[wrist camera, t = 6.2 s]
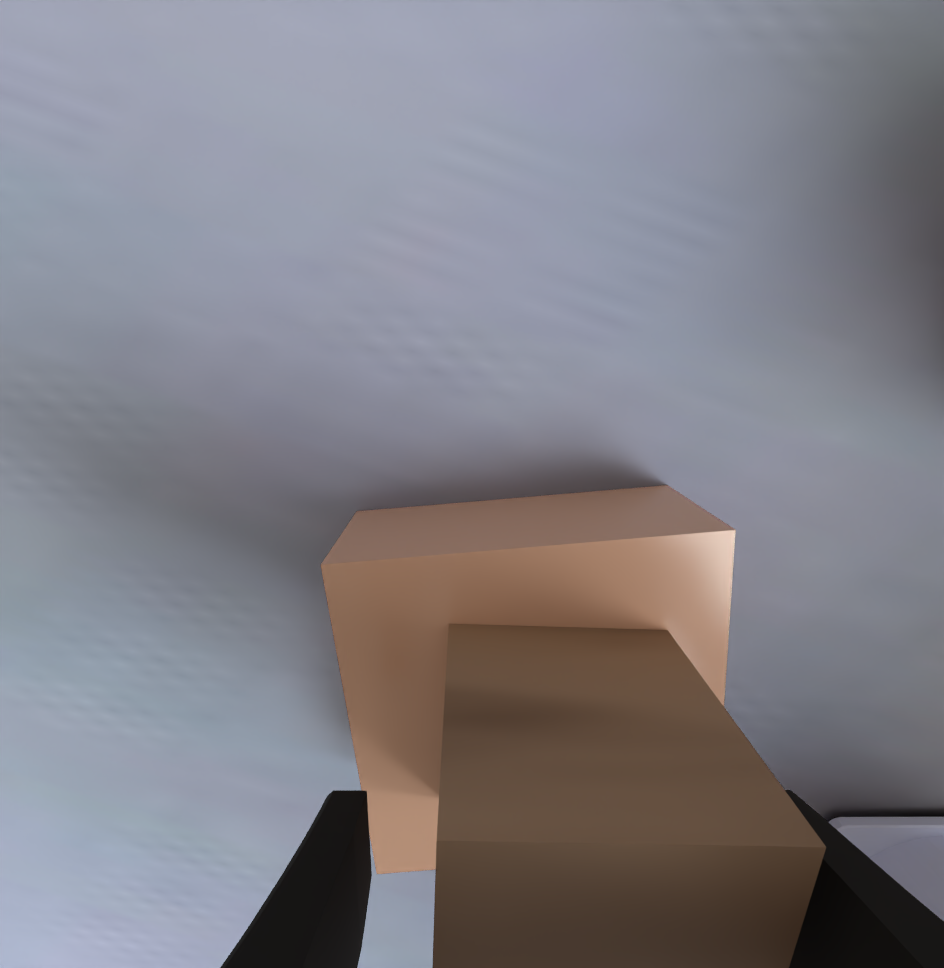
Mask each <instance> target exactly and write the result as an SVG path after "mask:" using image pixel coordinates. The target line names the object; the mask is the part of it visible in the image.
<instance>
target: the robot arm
mask: <svg viewBox="0 0 944 968" xmlns="http://www.w3.org/2000/svg"><path fill="white" fill-rule="evenodd" d="M785 791H786V793H787V794H788V795H789V797H790V798H791V800H792V801H793V802H794V804H795V805H796V806H797V808H798V809H799V810H800V812H801V813H802V815H803V816H804V817H805V819H806V820H807V821H808V823H809V824H810V826H811V827H812V828H813V830H814V831H815V832H816V834H817V835H818V837H819V838H820V839H821V841H822V842H823V843H824V845H825V846H826V850H825V853H824V856H823V859H822V863H821V866H820V869H819V872H818V875H817V879H816V882H815V885H814V888H813V892H812V895H811V898H810V901H809V904H808V908H807V911H806V914H805V917H804V921H803V924H802V927H801V930H800V933H799V937H798V940H797V943H796V946H795V950H794V953H793V956H792V959H791V962H790V966H789V968H944V817H837V818H834V819H832V820H830V821H829V822H827V821H826V820H825V819H824V818H823V817H822V816H820V815H819V814H818V813H817V812H816V811H815V810H813V809H812V808H811V807H810V806H809V805H808V804H806V803H805V802H804V801H803V800H802V799H800V798H799V797H798V796H797V795H796V794H794V793H793V792H792V791H791V790H785ZM371 876H372V874H371V856H370V838H369V821H368V803H367V791H333V792H331V793H330V794H329V795H328V796H327V798H326V800H325V802H324V803H323V805H322V807H321V809H320V811H319V813H318V815H317V816H316V818H315V820H314V822H313V824H312V825H311V827H310V829H309V831H308V832H307V834H306V836H305V838H304V839H303V841H302V843H301V844H300V846H299V848H298V849H297V851H296V853H295V854H294V856H293V858H292V859H291V861H290V863H289V864H288V866H287V868H286V869H285V871H284V873H283V874H282V876H281V877H280V879H279V881H278V882H277V884H276V885H275V887H274V888H273V890H272V891H271V893H270V895H269V896H268V898H267V899H266V901H265V902H264V904H263V905H262V907H261V909H260V910H259V912H258V913H257V915H256V916H255V918H254V919H253V921H252V923H251V924H250V926H249V927H248V929H247V930H246V932H245V933H244V935H243V936H242V938H241V939H240V940H239V942H238V943H237V945H236V946H235V948H234V949H233V951H232V952H231V953H230V955H229V956H228V958H227V959H226V961H225V962H224V963H223V965H222V966H221V968H357V966H358V961H359V957H360V952H361V947H362V940H363V933H364V926H365V919H366V912H367V905H368V898H369V890H370V883H371Z"/></svg>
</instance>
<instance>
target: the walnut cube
mask: <svg viewBox="0 0 944 968" xmlns="http://www.w3.org/2000/svg"><path fill="white" fill-rule="evenodd" d="M825 850H826V846H825V845H824V843H823V842H822V841H821V839H820V838H819V837H818V835H817V834H816V832H815V831H814V830H813V828H812V827H811V826H810V824H809V823H808V821H807V820H806V819H805V817H804V816H803V815H802V813H801V812H800V810H799V809H798V808H797V806H796V805H795V804H794V802H793V801H792V800H791V798H790V797H789V795H788V794H787V793H786V791H785V790H784V789H783V787H782V786H781V784H780V783H779V782H778V780H777V779H776V778H775V776H774V775H773V774H772V772H771V771H770V769H769V768H768V767H767V765H766V764H765V763H764V761H763V760H762V758H761V757H760V756H759V754H758V753H757V752H756V750H755V749H754V748H753V746H752V745H751V743H750V742H749V741H748V739H747V738H746V737H745V735H744V734H743V732H742V731H741V730H740V728H739V727H738V726H737V724H736V723H735V722H734V720H733V719H732V717H731V716H730V715H729V713H728V712H727V711H726V709H725V708H724V706H723V705H722V704H721V702H720V701H719V700H718V698H717V697H716V695H715V694H714V693H713V691H712V690H711V689H710V687H709V686H708V685H707V683H706V682H705V680H704V679H703V678H702V676H701V675H700V674H699V672H698V671H697V669H696V668H695V667H694V665H693V664H692V663H691V661H690V660H689V659H688V657H687V656H686V654H685V653H684V652H683V650H682V649H681V648H680V646H679V645H678V643H677V642H676V641H675V639H674V638H673V637H672V635H671V634H670V633H669V631H668V630H650V629H615V628H581V627H547V626H512V625H478V624H449V628H448V646H447V664H446V681H445V699H444V717H443V735H442V753H441V770H440V788H439V806H438V824H437V843H436V876H435V909H434V942H433V968H789V966H790V962H791V959H792V956H793V953H794V950H795V946H796V943H797V940H798V937H799V933H800V930H801V927H802V924H803V921H804V917H805V914H806V911H807V908H808V904H809V901H810V898H811V895H812V892H813V888H814V885H815V882H816V879H817V875H818V872H819V869H820V866H821V863H822V859H823V856H824V853H825Z"/></svg>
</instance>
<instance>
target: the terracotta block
mask: <svg viewBox="0 0 944 968" xmlns="http://www.w3.org/2000/svg"><path fill="white" fill-rule="evenodd" d="M735 531H736V530H735V529H733V528H732V527H730V526H729V525H727V524H726V523H724V522H723V521H721V520H720V519H718V518H717V517H715V516H714V515H712V514H711V513H709V512H707V511H706V510H704V509H703V508H701V507H700V506H698V505H697V504H695V503H694V502H692V501H691V500H689V499H688V498H686V497H685V496H683V495H682V494H680V493H679V492H677V491H676V490H674V489H673V488H671V487H669V486H668V485H663V486H651V487H639V488H627V489H615V490H603V491H591V492H579V493H567V494H555V495H544V496H532V497H520V498H508V499H496V500H484V501H472V502H460V503H448V504H436V505H424V506H412V507H401V508H389V509H377V510H365V511H356V513H355V514H354V516H353V517H352V519H351V520H350V522H349V523H348V525H347V526H346V528H345V529H344V531H343V532H342V534H341V535H340V537H339V538H338V540H337V541H336V543H335V544H334V546H333V547H332V549H331V550H330V551H329V553H328V554H327V556H326V557H325V559H324V560H323V562H322V563H321V570H322V575H323V581H324V586H325V592H326V597H327V603H328V608H329V614H330V619H331V625H332V630H333V636H334V641H335V647H336V652H337V658H338V663H339V669H340V674H341V680H342V685H343V691H344V696H345V702H346V707H347V713H348V718H349V724H350V729H351V735H352V740H353V746H354V751H355V757H356V762H357V768H358V773H359V779H360V784H361V790H362V791H367V803H368V821H369V834H370V839H371V844H372V850H373V855H374V861H375V866H376V872H377V874H385V873H397V872H410V871H423V870H435V869H436V843H437V824H438V806H439V788H440V770H441V753H442V735H443V717H444V699H445V681H446V664H447V646H448V628H449V624H478V625H512V626H547V627H581V628H615V629H650V630H668V631H669V633H670V634H671V635H672V637H673V638H674V639H675V641H676V642H677V643H678V645H679V646H680V648H681V649H682V650H683V652H684V653H685V654H686V656H687V657H688V659H689V660H690V661H691V663H692V664H693V665H694V667H695V668H696V669H697V671H698V672H699V674H700V675H701V676H702V678H703V679H704V680H705V682H706V683H707V685H708V686H709V687H710V689H711V690H712V691H713V693H714V694H715V695H716V697H717V698H718V700H719V701H720V702H721V704H722V705H723V706H724V698H725V683H726V667H727V652H728V637H729V622H730V607H731V591H732V576H733V561H734V546H735Z"/></svg>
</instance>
